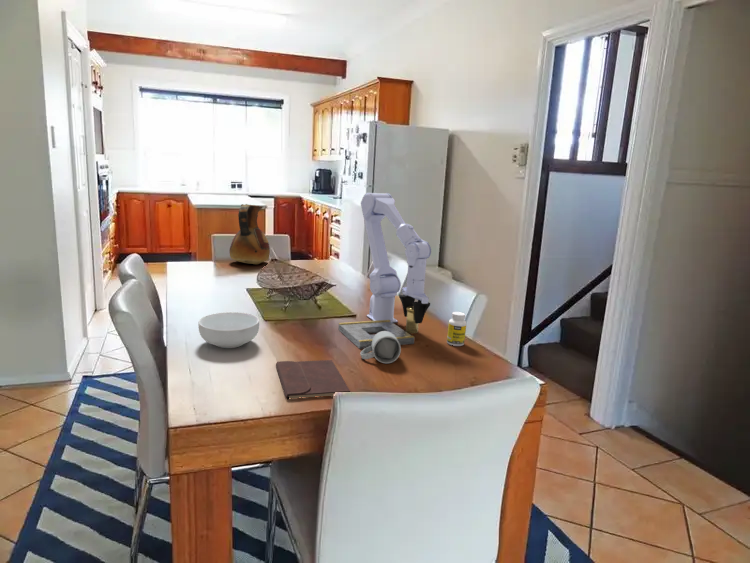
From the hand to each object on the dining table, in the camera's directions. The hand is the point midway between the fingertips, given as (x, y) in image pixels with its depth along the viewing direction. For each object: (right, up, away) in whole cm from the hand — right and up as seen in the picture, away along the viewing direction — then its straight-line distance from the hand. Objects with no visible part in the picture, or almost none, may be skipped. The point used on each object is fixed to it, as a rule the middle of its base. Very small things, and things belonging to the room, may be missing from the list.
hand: (412, 319), depth 170 cm
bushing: (0, -4, +1) cm, 4 cm away
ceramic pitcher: (-76, +21, +95) cm, 124 cm away
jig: (-12, -5, -7) cm, 15 cm away
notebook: (-28, -12, -42) cm, 52 cm away
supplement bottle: (+13, -7, -8) cm, 17 cm away
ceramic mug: (-11, -9, -25) cm, 29 cm away
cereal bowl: (-54, -6, -21) cm, 58 cm away
